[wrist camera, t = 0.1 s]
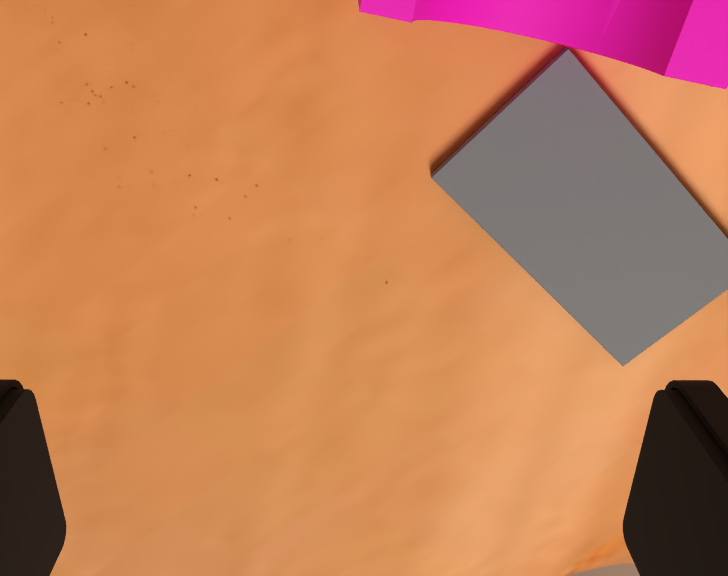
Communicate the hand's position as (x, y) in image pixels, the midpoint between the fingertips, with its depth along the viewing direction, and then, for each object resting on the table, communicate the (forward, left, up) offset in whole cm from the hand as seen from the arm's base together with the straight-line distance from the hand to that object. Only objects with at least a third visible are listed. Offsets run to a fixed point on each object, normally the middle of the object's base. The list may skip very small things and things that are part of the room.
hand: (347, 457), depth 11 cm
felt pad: (+6, +14, -27) cm, 31 cm away
